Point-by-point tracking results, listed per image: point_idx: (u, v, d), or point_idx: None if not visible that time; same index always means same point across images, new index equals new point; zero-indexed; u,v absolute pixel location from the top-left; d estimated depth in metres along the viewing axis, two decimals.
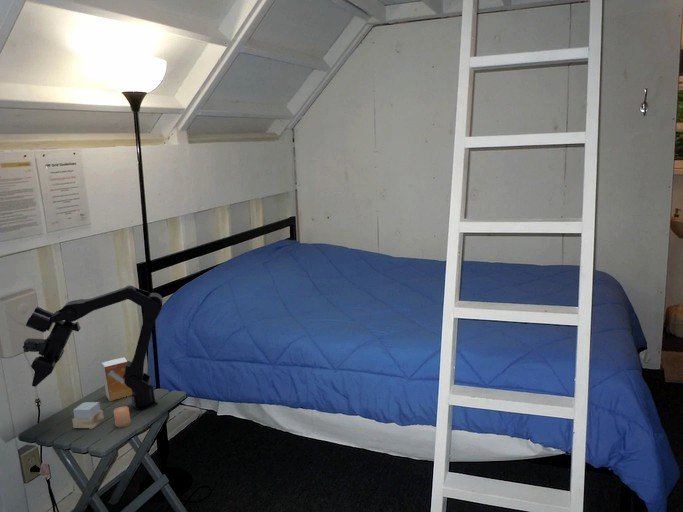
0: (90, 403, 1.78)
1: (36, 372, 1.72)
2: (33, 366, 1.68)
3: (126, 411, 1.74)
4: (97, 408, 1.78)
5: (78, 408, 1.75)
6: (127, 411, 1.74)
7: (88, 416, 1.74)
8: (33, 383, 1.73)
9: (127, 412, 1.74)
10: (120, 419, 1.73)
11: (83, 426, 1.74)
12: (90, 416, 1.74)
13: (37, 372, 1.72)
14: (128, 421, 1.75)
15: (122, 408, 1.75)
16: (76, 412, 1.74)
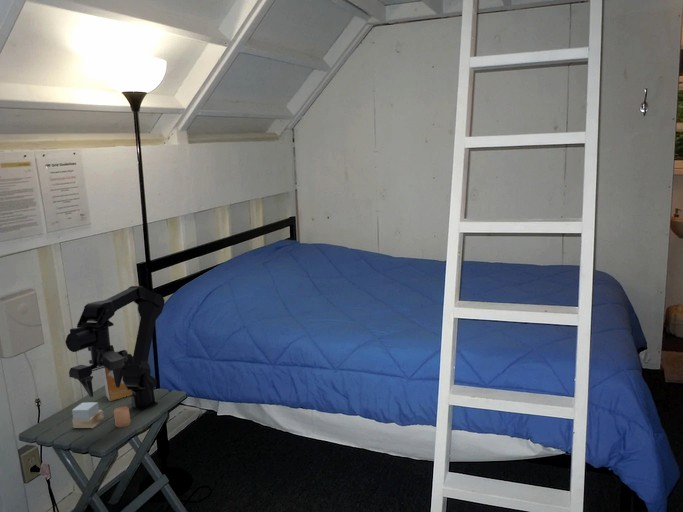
0: (88, 404, 1.78)
1: None
2: None
3: (126, 411, 1.74)
4: (96, 408, 1.78)
5: (77, 408, 1.75)
6: (127, 411, 1.74)
7: (87, 416, 1.74)
8: None
9: (127, 412, 1.74)
10: (120, 419, 1.73)
11: (83, 426, 1.75)
12: (89, 416, 1.74)
13: None
14: (128, 421, 1.75)
15: (122, 408, 1.75)
16: (75, 412, 1.74)
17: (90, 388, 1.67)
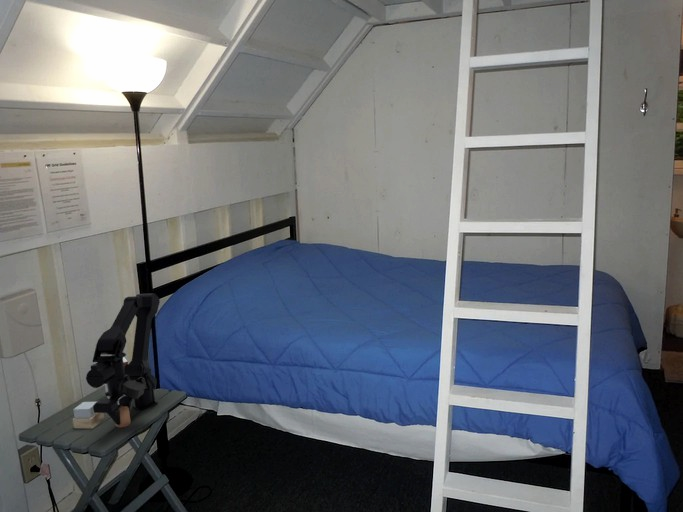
0: (90, 403, 1.78)
1: None
2: None
3: (126, 411, 1.74)
4: None
5: (78, 408, 1.75)
6: (127, 411, 1.74)
7: (89, 415, 1.74)
8: None
9: (127, 412, 1.74)
10: (120, 418, 1.73)
11: (84, 426, 1.75)
12: (91, 415, 1.75)
13: None
14: (128, 421, 1.75)
15: (122, 408, 1.75)
16: (76, 411, 1.75)
17: (118, 416, 1.72)
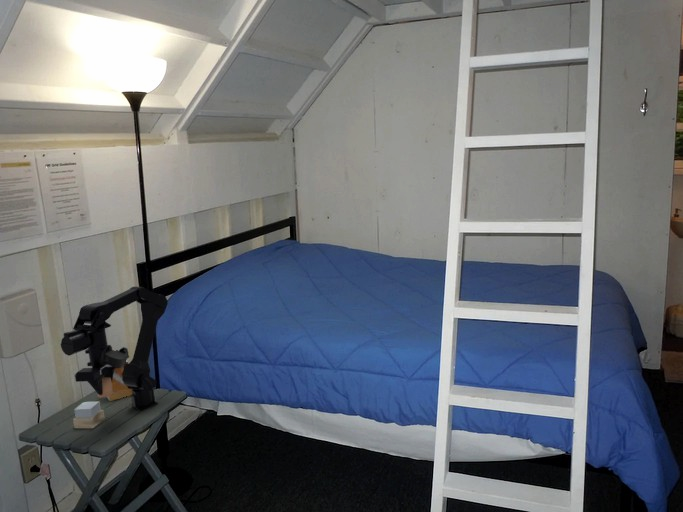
0: (90, 403, 1.79)
1: None
2: None
3: (108, 381, 1.73)
4: (98, 407, 1.79)
5: (79, 408, 1.76)
6: (109, 381, 1.73)
7: (90, 415, 1.75)
8: None
9: (109, 382, 1.73)
10: None
11: (84, 426, 1.75)
12: (92, 415, 1.75)
13: None
14: (110, 391, 1.74)
15: (104, 379, 1.74)
16: (77, 411, 1.75)
17: (101, 386, 1.71)
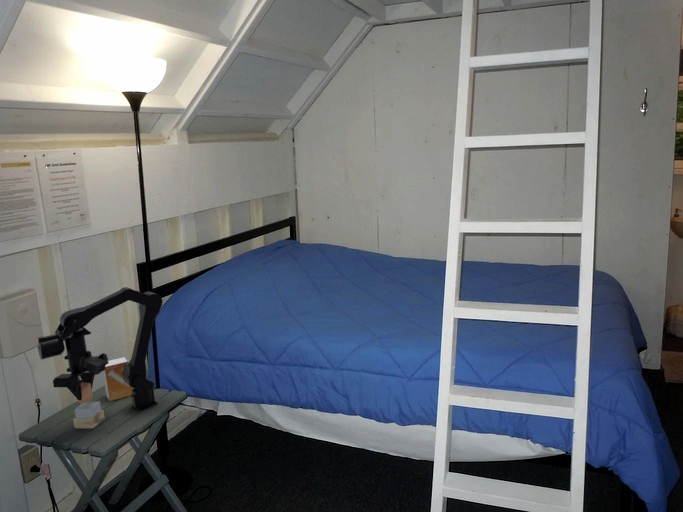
0: (90, 403, 1.79)
1: None
2: None
3: (88, 387, 1.75)
4: (98, 407, 1.78)
5: (79, 408, 1.75)
6: (89, 387, 1.75)
7: (90, 415, 1.75)
8: None
9: (89, 388, 1.75)
10: None
11: (84, 426, 1.75)
12: (92, 415, 1.75)
13: None
14: (90, 397, 1.76)
15: (84, 384, 1.76)
16: (77, 412, 1.75)
17: (80, 392, 1.73)
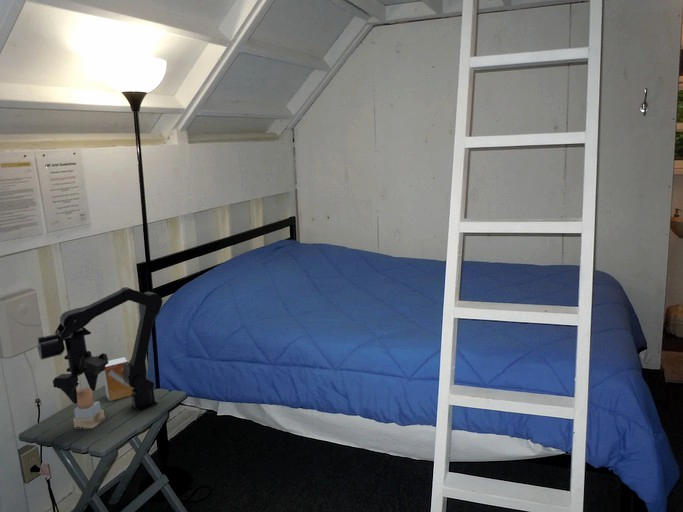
0: None
1: None
2: None
3: (89, 392, 1.75)
4: (98, 407, 1.78)
5: (79, 408, 1.76)
6: (90, 392, 1.76)
7: (89, 415, 1.74)
8: None
9: (90, 393, 1.76)
10: (83, 400, 1.74)
11: (84, 426, 1.75)
12: (92, 415, 1.75)
13: None
14: (91, 402, 1.76)
15: (85, 390, 1.77)
16: (77, 411, 1.75)
17: (75, 395, 1.71)
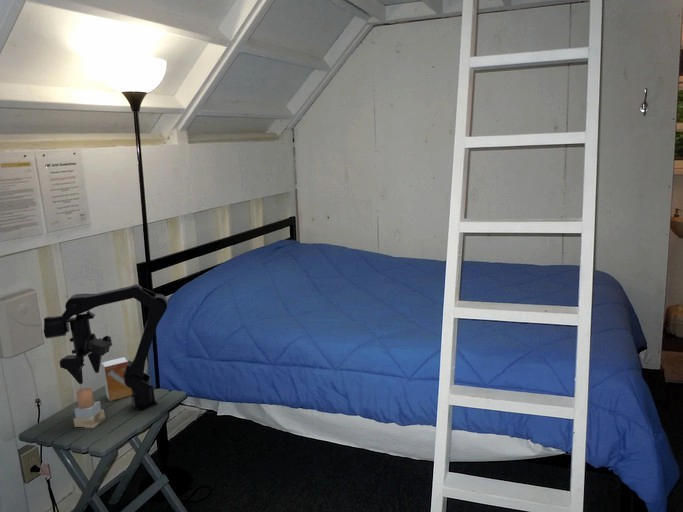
0: None
1: None
2: None
3: (89, 392, 1.75)
4: (98, 407, 1.79)
5: None
6: (90, 392, 1.76)
7: (90, 415, 1.75)
8: None
9: (90, 393, 1.76)
10: (83, 400, 1.74)
11: (84, 426, 1.75)
12: (92, 415, 1.75)
13: None
14: (91, 402, 1.76)
15: (85, 390, 1.77)
16: (77, 411, 1.75)
17: (81, 375, 1.76)
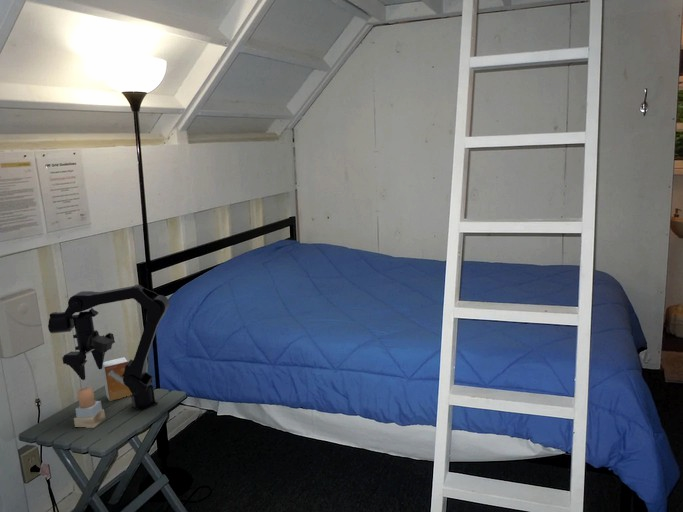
0: None
1: None
2: None
3: (90, 392, 1.76)
4: (99, 407, 1.79)
5: None
6: (91, 392, 1.76)
7: (91, 415, 1.75)
8: None
9: (91, 393, 1.76)
10: (84, 399, 1.75)
11: (85, 425, 1.75)
12: (93, 415, 1.75)
13: None
14: (92, 402, 1.76)
15: (86, 389, 1.77)
16: (78, 411, 1.75)
17: (83, 371, 1.80)
